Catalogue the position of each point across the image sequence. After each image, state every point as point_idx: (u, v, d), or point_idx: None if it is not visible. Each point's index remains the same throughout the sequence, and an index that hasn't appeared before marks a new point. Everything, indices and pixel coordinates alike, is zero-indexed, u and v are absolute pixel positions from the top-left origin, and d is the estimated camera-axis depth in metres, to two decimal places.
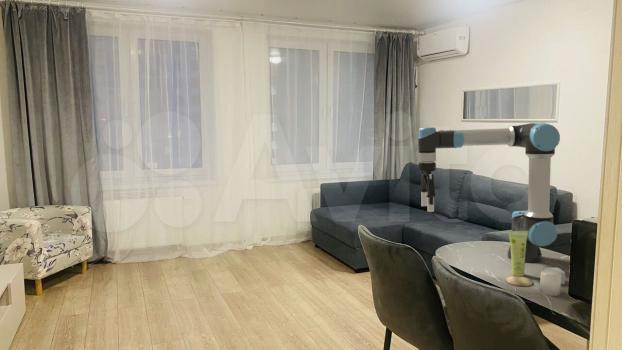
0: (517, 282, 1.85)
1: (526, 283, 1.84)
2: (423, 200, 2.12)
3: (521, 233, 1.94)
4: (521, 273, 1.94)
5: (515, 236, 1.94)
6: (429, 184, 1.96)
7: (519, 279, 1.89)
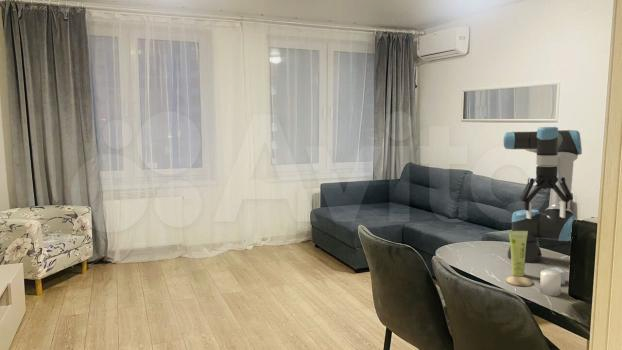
0: (517, 282, 1.85)
1: (526, 283, 1.84)
2: (561, 210, 1.84)
3: (521, 233, 1.94)
4: (521, 273, 1.94)
5: (515, 236, 1.94)
6: (525, 188, 1.84)
7: (519, 279, 1.89)
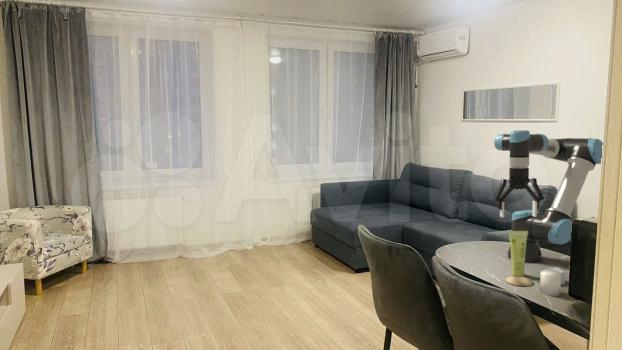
0: (517, 282, 1.85)
1: (526, 283, 1.84)
2: (533, 209, 1.94)
3: (521, 233, 1.94)
4: (521, 273, 1.94)
5: (515, 236, 1.94)
6: (498, 188, 1.93)
7: (519, 279, 1.89)
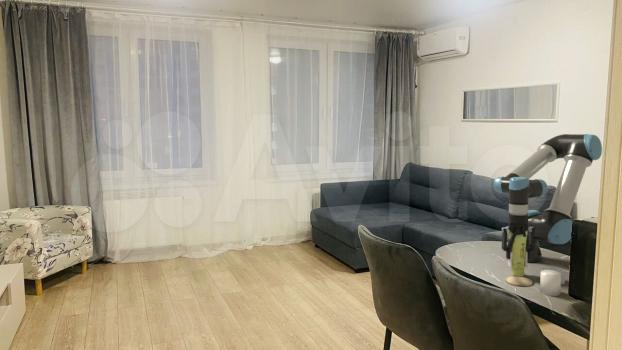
0: (517, 282, 1.85)
1: (526, 283, 1.84)
2: None
3: None
4: (521, 273, 1.94)
5: None
6: (502, 238, 1.96)
7: (519, 279, 1.89)
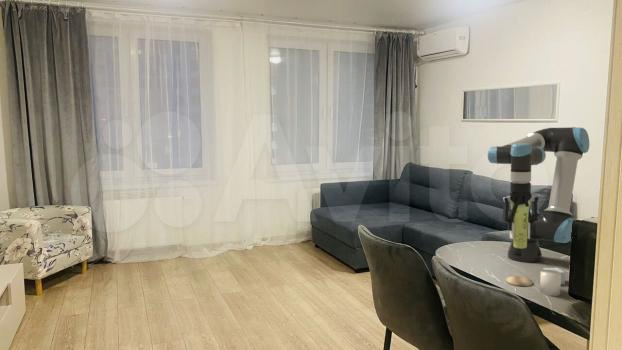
0: (517, 282, 1.85)
1: (526, 283, 1.84)
2: None
3: None
4: (523, 245, 1.84)
5: None
6: (503, 208, 1.85)
7: (519, 279, 1.89)
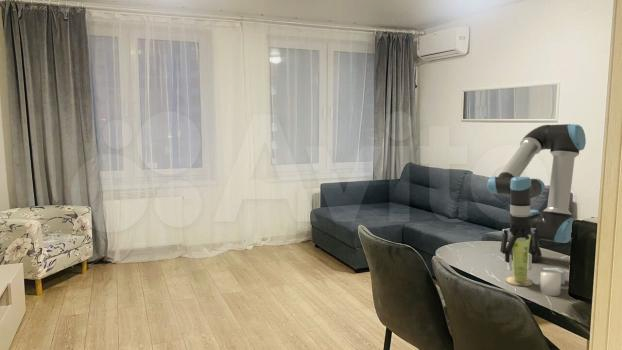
0: (517, 282, 1.85)
1: (526, 283, 1.84)
2: None
3: None
4: (523, 278, 1.85)
5: (518, 240, 1.85)
6: (502, 239, 1.87)
7: None
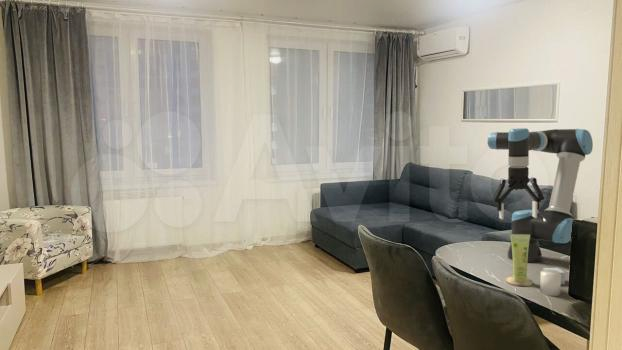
0: (517, 282, 1.85)
1: (526, 283, 1.84)
2: (533, 210, 1.87)
3: (523, 237, 1.85)
4: (523, 278, 1.85)
5: (517, 240, 1.85)
6: (497, 189, 1.87)
7: None
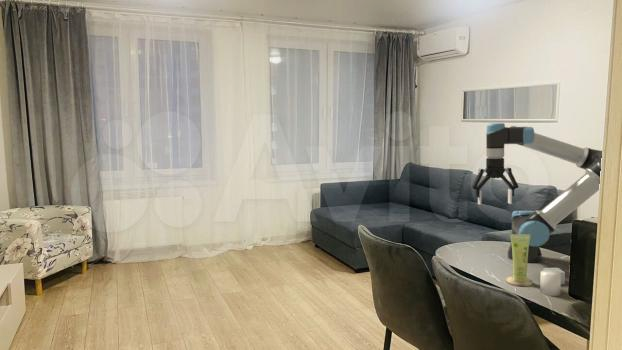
0: (517, 282, 1.85)
1: (526, 283, 1.84)
2: (508, 197, 2.07)
3: (523, 237, 1.85)
4: (523, 278, 1.85)
5: (517, 240, 1.85)
6: (476, 177, 2.07)
7: None
